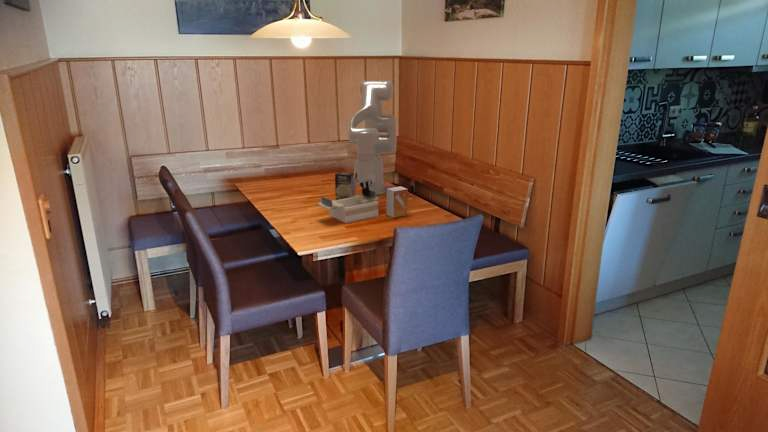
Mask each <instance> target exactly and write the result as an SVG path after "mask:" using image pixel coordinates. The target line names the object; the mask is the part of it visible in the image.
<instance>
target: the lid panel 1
mask: <svg viewBox="0 0 768 432" xmlns="http://www.w3.org/2000/svg"><path fill="white" fill-rule="evenodd" d="M320 198H321V201H320V202H315V203H316V204H315V205H316V206H319V207H321V208H324V209H326V210H328V211H330V209H335V208H340V207H345V205H343V204H341V203H338V202H336V200H334V199H330V198H327V197H325V196H321V197H320Z"/></svg>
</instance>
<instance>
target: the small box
mask: <svg viewBox="0 0 768 432" xmlns="http://www.w3.org/2000/svg"><path fill="white" fill-rule="evenodd" d="M408 194H409V191H408V188H406V187H403V186H400V185H399V186H394V187H386V207H385V208H386V210H385V211H386V213H385V214H386V215H387V216H389V217H391V218H393V219H394V218H399V217H405V216H408V202H409V201H408V198H409V197H408V196H409V195H408Z"/></svg>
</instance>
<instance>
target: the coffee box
mask: <svg viewBox="0 0 768 432" xmlns="http://www.w3.org/2000/svg"><path fill="white" fill-rule="evenodd" d="M355 182H356V181H355V180H354V172H350V171H337V172H336V173H335V174H334V185H335V187H334V191H335V193H334V194H335V195H334V196H335V201H336V200H341V199H346V198H351V197H353V196H356V193H357V190H356V189H357V187H356V186H357V185H356V184H355Z"/></svg>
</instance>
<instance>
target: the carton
mask: <svg viewBox="0 0 768 432" xmlns="http://www.w3.org/2000/svg"><path fill="white" fill-rule="evenodd" d="M335 201H336V202H338V203H341V204H343V205H345V207H340V208H335V209H330V210H329V217H332V218H334V219H336V220H338V221H340V222H342V223H344V224H349V223H353V222H358V221H363V220H368V219H372V218H376V217H377V218H378V217H379V201H378V200H375V201H370V202H363V201H361V200H358V199H355V198H353V197H351V198H346V199H341V200H336V199H335Z"/></svg>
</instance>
